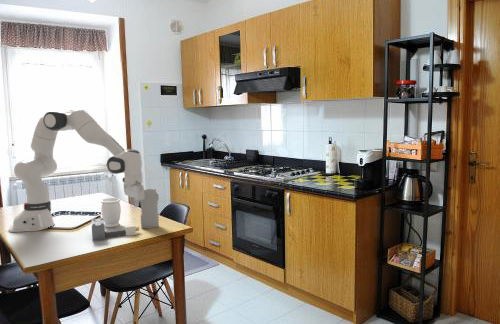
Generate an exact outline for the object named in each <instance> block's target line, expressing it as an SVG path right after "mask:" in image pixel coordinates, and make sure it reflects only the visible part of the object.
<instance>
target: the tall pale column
mask: <svg viewBox="0 0 500 324" xmlns="http://www.w3.org/2000/svg"><path fill="white" fill-rule="evenodd" d="M144 195H145V198H144V200H140V201H139V204H140V211H141V212H140V213H141V214H140V228H141V229H143V230H145V229H153V228H157V227H160V223H159V222H160V221H159V212H158V211H159V210H158V208H159V207H158V206H159V202H158V201H159V199H160V198H159V197H160V196H159V194H158V192H157V190H156V189H154V188H147V189H144Z"/></svg>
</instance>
